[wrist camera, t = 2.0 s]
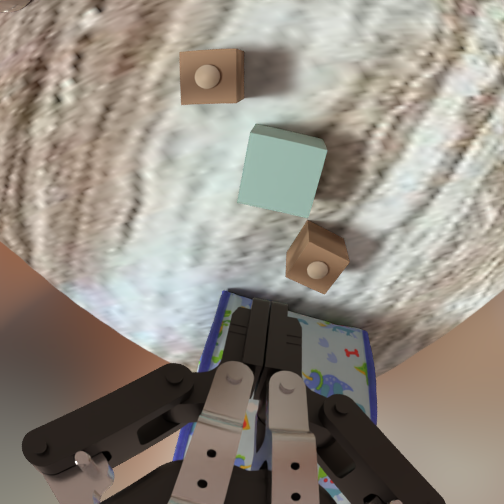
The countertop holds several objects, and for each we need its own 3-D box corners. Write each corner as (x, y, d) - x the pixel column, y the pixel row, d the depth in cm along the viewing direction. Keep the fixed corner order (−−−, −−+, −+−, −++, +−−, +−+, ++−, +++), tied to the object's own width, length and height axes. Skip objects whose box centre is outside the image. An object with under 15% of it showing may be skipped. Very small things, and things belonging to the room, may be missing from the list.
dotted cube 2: (195, 53, 28) (178, 52, 24) (244, 51, 28) (235, 48, 23) (196, 99, 31) (180, 105, 26) (244, 98, 30) (236, 103, 26)
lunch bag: (201, 356, 52) (160, 503, 30) (219, 279, 43) (161, 471, 21) (328, 384, 52) (329, 527, 30) (373, 318, 43) (402, 497, 21)
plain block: (255, 123, 32) (250, 132, 27) (322, 138, 32) (327, 150, 27) (244, 184, 35) (237, 202, 31) (306, 198, 35) (308, 218, 31)
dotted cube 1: (307, 219, 37) (309, 242, 32) (343, 238, 37) (350, 262, 33) (286, 252, 39) (285, 278, 35) (321, 269, 40) (324, 295, 36)
